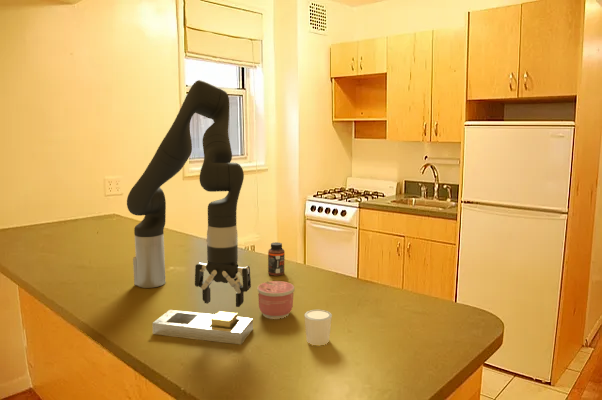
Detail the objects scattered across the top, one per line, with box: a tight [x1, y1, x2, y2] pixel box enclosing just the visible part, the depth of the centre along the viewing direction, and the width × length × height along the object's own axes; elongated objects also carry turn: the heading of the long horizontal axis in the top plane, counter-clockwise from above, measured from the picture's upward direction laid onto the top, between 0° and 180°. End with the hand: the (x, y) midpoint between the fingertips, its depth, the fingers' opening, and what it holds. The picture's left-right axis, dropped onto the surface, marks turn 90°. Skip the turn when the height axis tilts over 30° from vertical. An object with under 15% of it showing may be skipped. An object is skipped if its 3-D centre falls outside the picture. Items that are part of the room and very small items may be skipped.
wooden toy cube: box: [211, 310, 238, 329], centre depth 119 cm, size 5×5×5 cm
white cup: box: [303, 309, 333, 346], centre depth 115 cm, size 7×7×7 cm
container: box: [256, 280, 295, 320], centre depth 132 cm, size 10×10×8 cm
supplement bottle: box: [267, 242, 286, 277], centre depth 168 cm, size 6×6×11 cm
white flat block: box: [151, 309, 254, 345], centre depth 121 cm, size 24×9×3 cm, turn 77°
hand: (222, 304), depth 118 cm, fingers open, 8 cm apart
